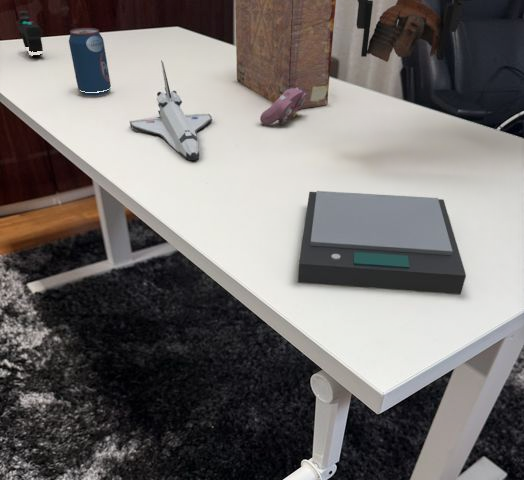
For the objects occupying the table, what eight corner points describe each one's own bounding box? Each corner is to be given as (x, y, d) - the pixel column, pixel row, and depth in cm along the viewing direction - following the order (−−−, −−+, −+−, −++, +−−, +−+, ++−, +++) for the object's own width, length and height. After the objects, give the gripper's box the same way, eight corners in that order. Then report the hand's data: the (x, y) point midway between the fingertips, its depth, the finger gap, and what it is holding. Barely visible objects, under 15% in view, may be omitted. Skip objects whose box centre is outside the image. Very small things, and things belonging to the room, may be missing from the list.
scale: (439, 216, 74) (444, 194, 72) (460, 294, 60) (467, 270, 58) (308, 208, 76) (309, 187, 74) (297, 282, 61) (299, 258, 59)
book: (236, 81, 126) (232, -84, 107) (271, 76, 129) (274, -84, 110) (288, 111, 109) (295, -79, 90) (327, 105, 112) (342, -79, 93)
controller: (39, 51, 148) (29, 9, 142) (50, 61, 140) (40, 16, 134) (23, 53, 146) (12, 10, 140) (33, 63, 138) (22, 18, 132)
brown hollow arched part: (356, 53, 82) (386, -4, 79) (408, 85, 84) (439, 30, 81) (371, 46, 72) (407, -20, 68) (430, 83, 74) (467, 21, 70)
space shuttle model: (147, 168, 86) (138, 101, 80) (127, 120, 104) (118, 62, 98) (240, 157, 90) (239, 93, 84) (205, 112, 108) (202, 57, 102)
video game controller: (275, 136, 102) (291, 104, 97) (256, 121, 102) (271, 88, 97) (298, 122, 109) (315, 91, 103) (281, 108, 109) (296, 76, 104)
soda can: (115, 95, 117) (105, 32, 109) (83, 99, 114) (70, 35, 107) (107, 87, 121) (97, 26, 114) (76, 91, 119) (63, 28, 111)
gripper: (527, -153, 65) (478, 53, 80) (339, -152, 68) (324, 47, 82) (542, -157, 60) (486, 65, 74) (336, -156, 62) (321, 58, 76)
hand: (401, 56), depth 78 cm, fingers closed on brown hollow arched part, 10 cm apart
